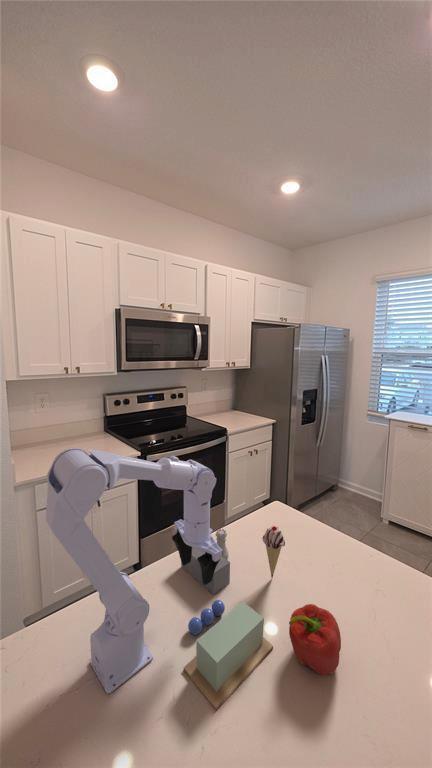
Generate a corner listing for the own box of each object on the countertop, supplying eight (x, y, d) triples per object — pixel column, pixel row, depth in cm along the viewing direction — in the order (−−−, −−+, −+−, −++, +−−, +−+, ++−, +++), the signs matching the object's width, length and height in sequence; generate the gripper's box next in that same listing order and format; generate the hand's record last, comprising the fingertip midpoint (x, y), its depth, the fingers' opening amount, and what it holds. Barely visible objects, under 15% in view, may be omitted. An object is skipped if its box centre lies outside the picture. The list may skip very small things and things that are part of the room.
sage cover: (216, 691, 56) (217, 662, 55) (196, 667, 60) (196, 640, 59) (262, 643, 65) (263, 618, 64) (242, 625, 69) (242, 601, 68)
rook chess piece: (222, 564, 88) (223, 538, 87) (210, 557, 91) (210, 532, 90) (231, 555, 92) (232, 530, 91) (219, 549, 94) (219, 524, 93)
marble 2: (206, 631, 68) (206, 619, 68) (197, 622, 71) (197, 610, 70) (216, 622, 70) (216, 610, 70) (207, 614, 73) (207, 602, 72)
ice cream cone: (284, 587, 80) (287, 533, 78) (262, 587, 81) (264, 532, 78) (280, 571, 86) (283, 520, 84) (259, 570, 86) (261, 519, 84)
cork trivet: (216, 710, 54) (216, 707, 54) (183, 669, 60) (183, 667, 60) (273, 648, 65) (273, 645, 65) (240, 619, 71) (240, 617, 71)
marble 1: (194, 641, 66) (194, 629, 66) (185, 631, 68) (185, 619, 68) (205, 632, 68) (205, 620, 68) (196, 623, 70) (196, 611, 70)
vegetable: (298, 692, 57) (301, 644, 55) (276, 639, 67) (278, 597, 65) (352, 680, 59) (357, 634, 57) (323, 630, 69) (326, 589, 68)
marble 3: (217, 621, 71) (218, 609, 70) (208, 613, 73) (209, 601, 72) (227, 613, 73) (227, 602, 72) (218, 605, 75) (218, 594, 74)
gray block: (229, 583, 82) (230, 562, 81) (213, 595, 78) (213, 573, 77) (196, 557, 91) (197, 538, 90) (181, 566, 87) (181, 546, 86)
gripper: (233, 524, 67) (231, 581, 69) (190, 497, 78) (190, 548, 80) (207, 538, 62) (207, 599, 65) (166, 508, 73) (167, 561, 75)
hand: (196, 572), depth 72 cm, fingers open, 7 cm apart
